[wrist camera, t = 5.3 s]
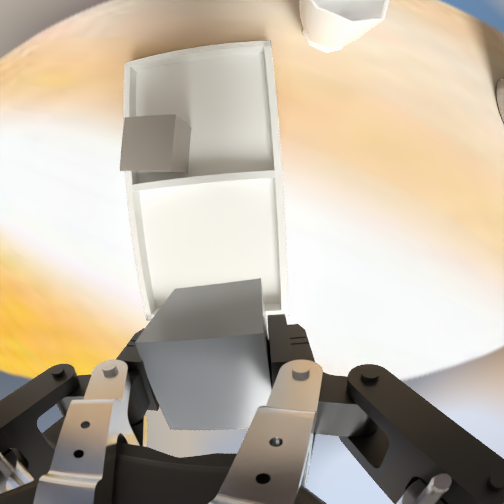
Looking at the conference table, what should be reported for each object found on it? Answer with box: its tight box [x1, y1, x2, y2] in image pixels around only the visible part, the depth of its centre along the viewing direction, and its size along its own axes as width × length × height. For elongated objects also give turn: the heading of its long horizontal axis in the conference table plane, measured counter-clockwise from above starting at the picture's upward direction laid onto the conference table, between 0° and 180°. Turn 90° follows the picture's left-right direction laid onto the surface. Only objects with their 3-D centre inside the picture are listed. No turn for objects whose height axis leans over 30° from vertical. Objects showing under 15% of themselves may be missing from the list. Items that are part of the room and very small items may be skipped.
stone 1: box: [120, 114, 191, 173], centre depth 21 cm, size 4×4×5 cm
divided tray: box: [123, 40, 289, 321], centre depth 23 cm, size 13×24×2 cm, turn 4°
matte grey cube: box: [135, 278, 272, 430], centre depth 11 cm, size 4×4×5 cm
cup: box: [299, 0, 389, 53], centre depth 16 cm, size 7×10×8 cm
